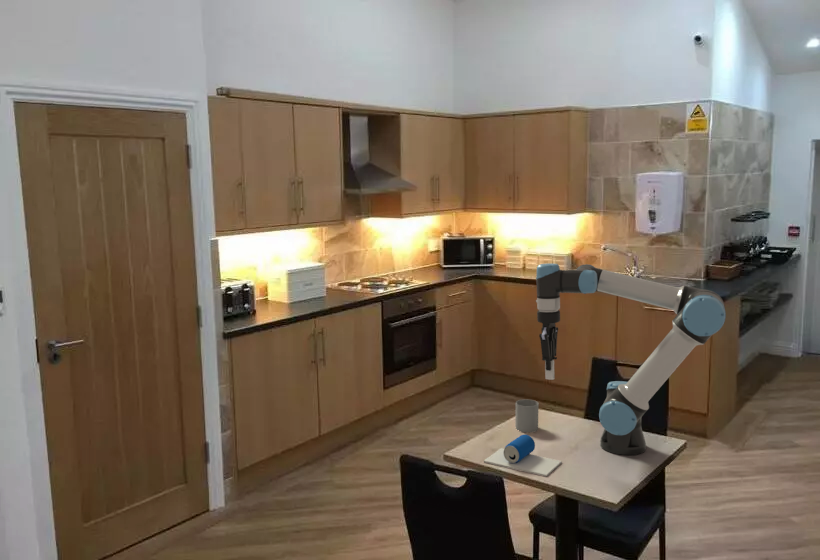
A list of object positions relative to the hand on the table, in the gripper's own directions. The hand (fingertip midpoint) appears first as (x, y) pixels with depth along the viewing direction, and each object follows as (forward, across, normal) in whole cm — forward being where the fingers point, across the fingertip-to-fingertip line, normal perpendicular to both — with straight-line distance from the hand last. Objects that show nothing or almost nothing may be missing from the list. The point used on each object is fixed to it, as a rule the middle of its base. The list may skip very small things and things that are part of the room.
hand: (549, 378), depth 242 cm
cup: (+25, -18, -15) cm, 35 cm away
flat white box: (+25, +13, -6) cm, 29 cm away
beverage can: (+22, +5, -7) cm, 23 cm away
